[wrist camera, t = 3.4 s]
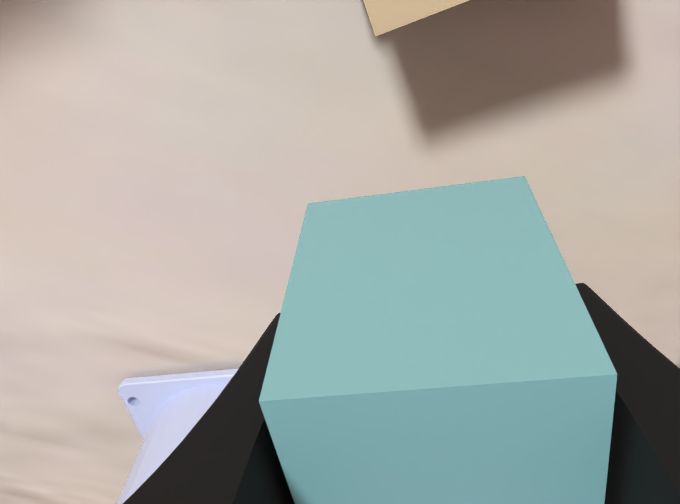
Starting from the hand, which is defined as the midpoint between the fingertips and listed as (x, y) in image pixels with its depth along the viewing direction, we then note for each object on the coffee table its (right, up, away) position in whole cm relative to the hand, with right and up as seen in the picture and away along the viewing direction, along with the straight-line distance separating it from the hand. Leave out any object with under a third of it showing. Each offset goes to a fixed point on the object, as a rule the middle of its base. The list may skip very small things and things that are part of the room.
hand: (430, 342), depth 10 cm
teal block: (0, +1, +1) cm, 2 cm away
